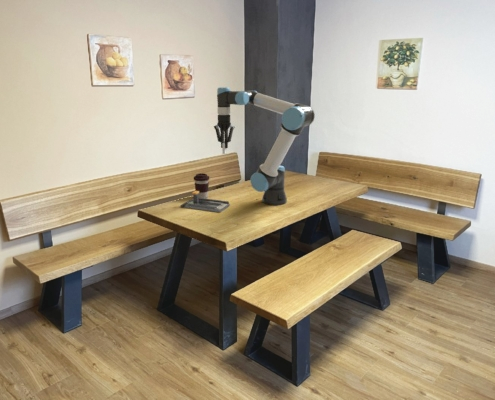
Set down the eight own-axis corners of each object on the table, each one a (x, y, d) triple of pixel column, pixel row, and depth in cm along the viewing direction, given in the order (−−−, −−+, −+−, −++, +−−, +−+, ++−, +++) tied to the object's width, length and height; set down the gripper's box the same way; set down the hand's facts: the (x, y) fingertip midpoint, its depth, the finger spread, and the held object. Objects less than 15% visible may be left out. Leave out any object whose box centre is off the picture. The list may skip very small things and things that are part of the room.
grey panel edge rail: (195, 201, 259) (195, 198, 259) (183, 207, 247) (183, 205, 247) (193, 201, 260) (192, 198, 260) (181, 207, 248) (181, 204, 247)
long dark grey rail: (229, 203, 255) (229, 200, 255) (227, 204, 253) (227, 202, 252) (195, 199, 264) (195, 196, 263) (193, 200, 261) (192, 197, 261)
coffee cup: (207, 199, 262) (206, 176, 258) (192, 198, 264) (191, 175, 260) (211, 195, 272) (211, 173, 267) (197, 194, 274) (196, 172, 269)
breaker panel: (229, 206, 250) (229, 202, 250) (220, 212, 239) (219, 208, 238) (191, 201, 260) (191, 197, 259) (180, 207, 248) (180, 203, 248)
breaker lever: (199, 202, 252) (199, 191, 250) (196, 204, 249) (196, 192, 247) (196, 201, 253) (195, 190, 251) (192, 203, 250) (192, 192, 248)
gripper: (236, 114, 248) (236, 153, 255) (216, 113, 253) (217, 151, 260) (231, 115, 242) (231, 155, 249) (211, 114, 246) (212, 153, 253)
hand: (224, 153), depth 254 cm, fingers closed
